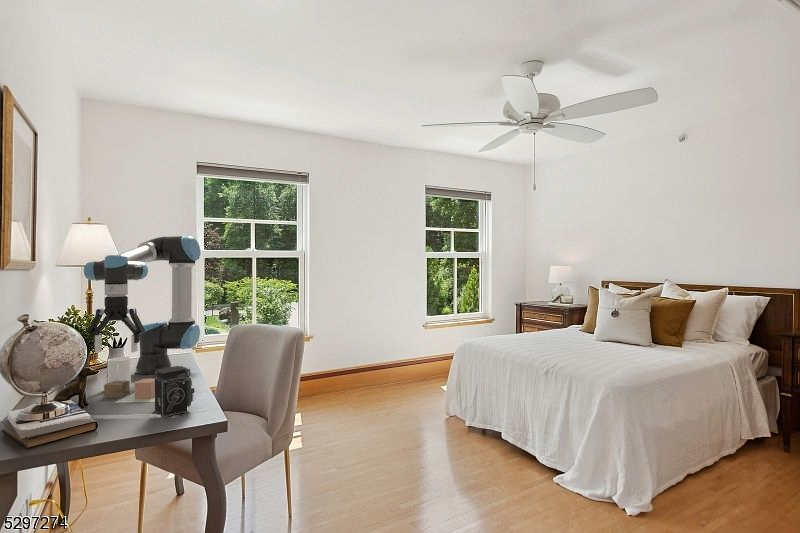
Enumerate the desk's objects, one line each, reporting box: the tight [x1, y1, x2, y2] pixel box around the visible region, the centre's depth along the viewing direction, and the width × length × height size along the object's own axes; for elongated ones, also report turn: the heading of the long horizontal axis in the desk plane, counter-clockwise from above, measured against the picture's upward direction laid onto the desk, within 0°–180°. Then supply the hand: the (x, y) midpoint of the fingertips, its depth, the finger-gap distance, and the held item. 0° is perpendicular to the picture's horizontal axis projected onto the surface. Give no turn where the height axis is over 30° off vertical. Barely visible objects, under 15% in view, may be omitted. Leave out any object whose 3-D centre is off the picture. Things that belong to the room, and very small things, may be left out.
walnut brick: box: [103, 381, 131, 398], centre depth 172 cm, size 6×6×6 cm
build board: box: [114, 392, 155, 404], centre depth 169 cm, size 14×16×1 cm
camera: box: [154, 365, 196, 418], centre depth 154 cm, size 10×10×15 cm
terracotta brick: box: [134, 378, 155, 399], centre depth 169 cm, size 6×6×6 cm
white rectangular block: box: [107, 356, 132, 385], centre depth 186 cm, size 12×8×12 cm
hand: (116, 352), depth 172 cm, fingers open, 13 cm apart
